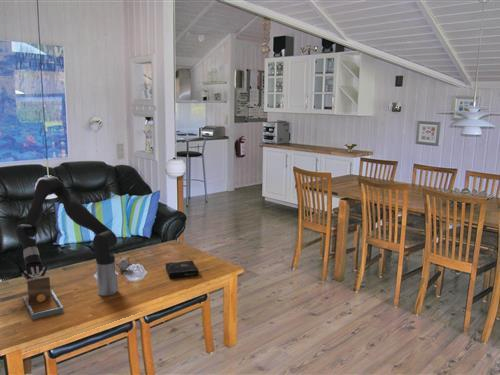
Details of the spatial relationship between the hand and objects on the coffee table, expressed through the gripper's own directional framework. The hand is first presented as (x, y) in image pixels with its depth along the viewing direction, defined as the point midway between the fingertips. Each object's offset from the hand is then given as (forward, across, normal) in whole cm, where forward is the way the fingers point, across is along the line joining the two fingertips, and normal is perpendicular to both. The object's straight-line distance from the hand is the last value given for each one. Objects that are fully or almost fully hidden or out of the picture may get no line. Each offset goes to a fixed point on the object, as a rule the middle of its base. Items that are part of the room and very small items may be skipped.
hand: (37, 286), depth 229 cm
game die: (-3, +49, +11) cm, 50 cm away
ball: (+8, 0, -3) cm, 8 cm away
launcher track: (+9, 0, -2) cm, 9 cm away
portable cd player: (+12, +76, -3) cm, 77 cm away
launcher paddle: (+6, 0, +1) cm, 6 cm away
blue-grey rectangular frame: (+18, 0, -10) cm, 20 cm away
